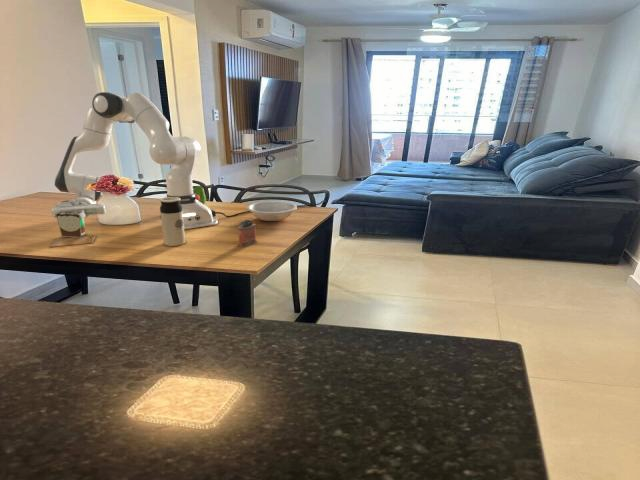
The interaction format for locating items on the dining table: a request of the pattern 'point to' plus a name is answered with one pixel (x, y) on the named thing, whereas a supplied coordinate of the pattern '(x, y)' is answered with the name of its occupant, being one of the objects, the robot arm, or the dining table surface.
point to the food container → (71, 223)
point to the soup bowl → (272, 210)
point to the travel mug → (172, 221)
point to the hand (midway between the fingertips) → (76, 214)
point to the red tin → (246, 232)
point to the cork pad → (73, 241)
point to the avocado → (200, 194)
